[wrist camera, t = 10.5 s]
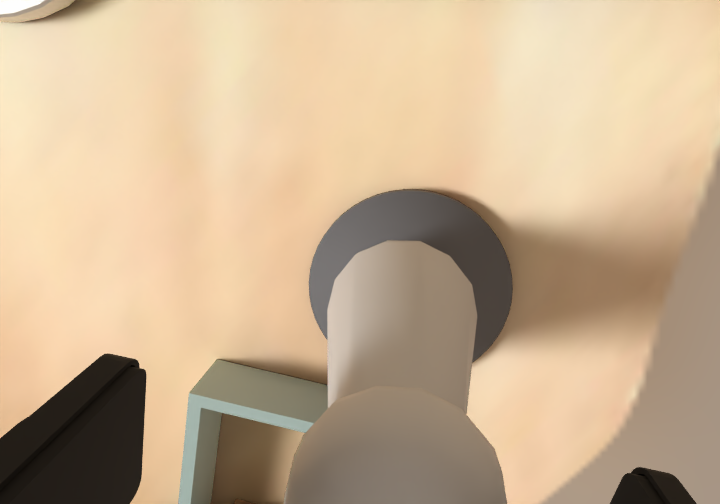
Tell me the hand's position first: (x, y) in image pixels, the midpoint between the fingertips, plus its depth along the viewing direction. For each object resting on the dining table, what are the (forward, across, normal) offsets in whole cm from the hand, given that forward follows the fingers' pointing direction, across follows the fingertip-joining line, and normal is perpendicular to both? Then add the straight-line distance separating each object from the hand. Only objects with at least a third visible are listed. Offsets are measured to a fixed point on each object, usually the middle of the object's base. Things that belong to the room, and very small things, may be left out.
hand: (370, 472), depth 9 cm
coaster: (+12, -1, +1) cm, 12 cm away
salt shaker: (+12, -1, +1) cm, 12 cm away
